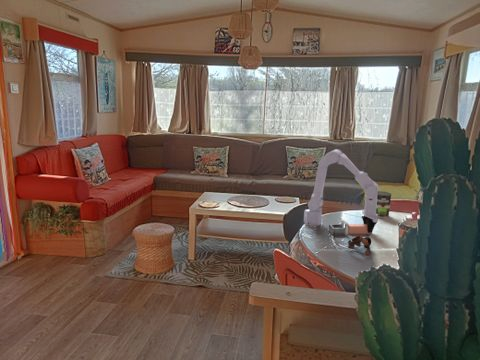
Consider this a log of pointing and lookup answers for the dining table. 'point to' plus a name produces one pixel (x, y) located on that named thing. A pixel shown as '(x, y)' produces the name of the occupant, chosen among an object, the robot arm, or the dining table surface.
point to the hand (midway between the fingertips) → (368, 231)
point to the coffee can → (383, 204)
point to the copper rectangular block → (357, 229)
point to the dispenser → (342, 229)
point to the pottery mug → (357, 242)
